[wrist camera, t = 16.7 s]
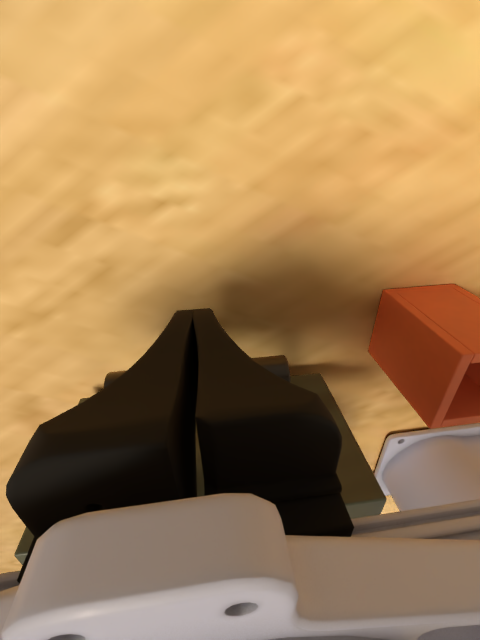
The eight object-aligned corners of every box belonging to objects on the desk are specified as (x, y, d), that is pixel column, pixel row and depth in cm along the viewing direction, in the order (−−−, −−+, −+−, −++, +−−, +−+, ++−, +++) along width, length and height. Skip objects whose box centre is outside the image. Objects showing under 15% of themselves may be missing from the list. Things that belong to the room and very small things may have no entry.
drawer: (52, 331, 14) (-54, 482, 8) (330, 307, 16) (419, 422, 9) (131, 524, 24) (109, 664, 17) (301, 499, 25) (337, 621, 19)
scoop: (367, 351, 19) (429, 429, 14) (382, 289, 17) (462, 355, 12) (462, 341, 19) (554, 413, 14) (489, 280, 17) (608, 339, 12)
